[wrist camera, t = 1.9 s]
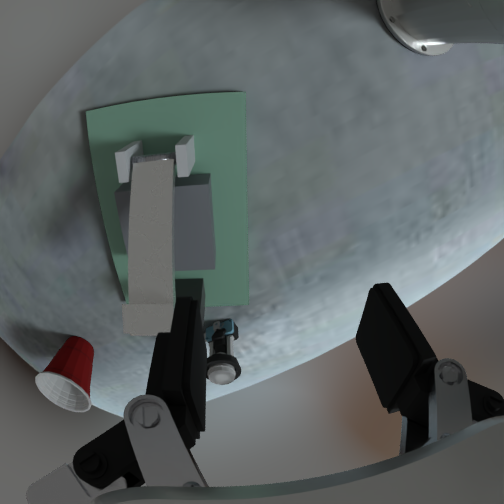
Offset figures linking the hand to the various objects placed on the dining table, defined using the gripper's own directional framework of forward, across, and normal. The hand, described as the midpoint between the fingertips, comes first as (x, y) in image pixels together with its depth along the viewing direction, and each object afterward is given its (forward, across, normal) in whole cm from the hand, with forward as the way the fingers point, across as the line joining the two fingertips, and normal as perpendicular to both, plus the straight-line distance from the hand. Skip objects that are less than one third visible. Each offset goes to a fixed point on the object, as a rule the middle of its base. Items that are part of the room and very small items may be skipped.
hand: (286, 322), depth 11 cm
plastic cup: (+26, +32, +31) cm, 52 cm away
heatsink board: (+26, +9, +6) cm, 28 cm away
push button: (+26, +5, +26) cm, 37 cm away
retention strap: (+15, +9, +4) cm, 18 cm away
